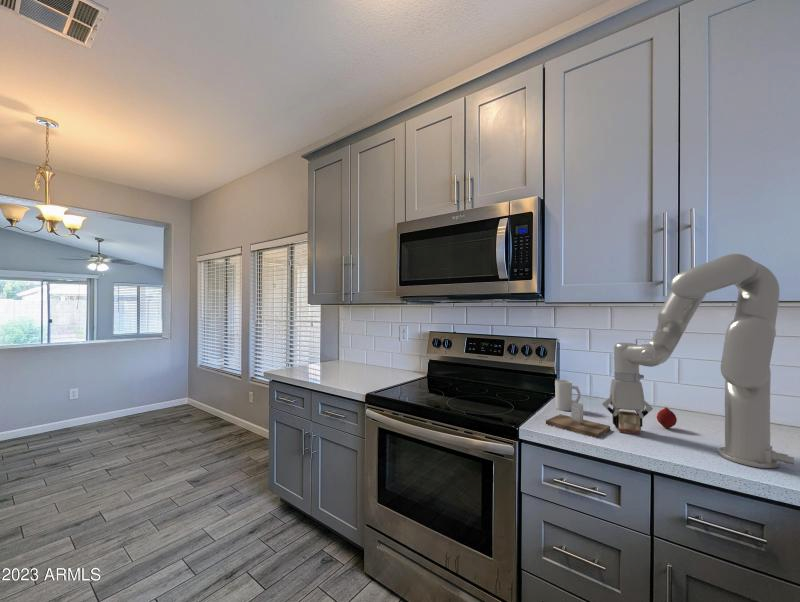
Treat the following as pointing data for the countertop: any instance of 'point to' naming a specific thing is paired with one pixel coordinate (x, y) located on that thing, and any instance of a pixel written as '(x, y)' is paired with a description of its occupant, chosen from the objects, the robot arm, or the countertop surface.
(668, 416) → the onion
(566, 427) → the pin board
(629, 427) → the sleeve
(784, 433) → the countertop surface
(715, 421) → the countertop surface
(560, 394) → the mug
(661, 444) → the countertop surface
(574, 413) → the steel pin
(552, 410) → the countertop surface
